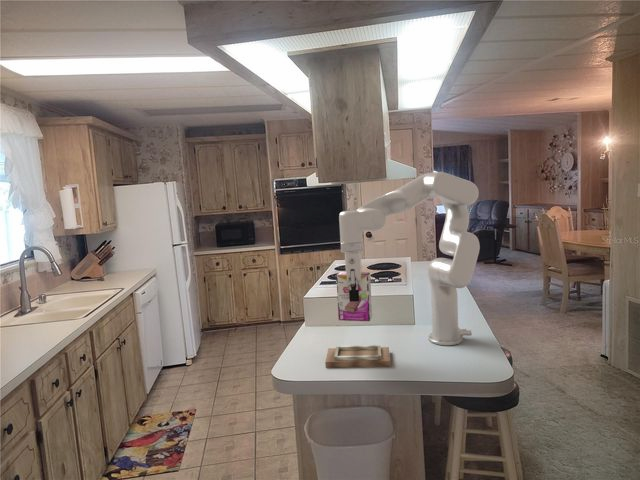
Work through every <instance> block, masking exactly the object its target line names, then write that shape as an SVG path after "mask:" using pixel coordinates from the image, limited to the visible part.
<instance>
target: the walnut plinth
mask: <svg viewBox="0 0 640 480" xmlns="http://www.w3.org/2000/svg"><path fill="white" fill-rule="evenodd" d="M391 361H392V360H391V354H390V347H389V346H381V345H378V344H377V345H376V344H375V345H374V344H373V345H372V344H371V345H368V344H367V345H338V346H335V348H333V347H331V348H327V353H326V358H325V362H324V363H325V364H324V365H325V368H327V369H329V368H372V367H373V368H376V367H377V368H379V367H380V368H381V367H387V368H388V367H389V368H390V367H392V366H391V365H392V363H391Z"/></svg>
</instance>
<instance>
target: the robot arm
mask: <svg viewBox="0 0 640 480" xmlns="http://www.w3.org/2000/svg"><path fill="white" fill-rule="evenodd" d="M479 193H480V192H479V188H478V187H477V185H476V184H475V183H474V182H472V181H471V180H467V179H465V178H461V177H459V176H457V175H453V174H450V173H447V172H445V171H444V172H443V171H436V172H435V171H434V172H427V173H423V174H420V176H417V177H416V178H414V179H412V180H411V181H409V182H408V183H406V184H404V185H402V186H400V187H398V188H397V189H395V190H393V191H390V192H388V193H386V194H383V195H382V196H378V197H375V198H374V199H372V200H369V201H368V202H366V203H365V204H363V205H362V206H360V207H358V208H357V209H356V210H354V209H353V210H352V209H351V210H343V211H341V212H340V213H339V216H338V221H339V224H338V225H339V236H340V237H339V240H340V253H342V254H343V253H344V264H345V272H346V275H347V281H348V282H349V288H350V290H349V298H350V302H356V301H359V289H358V283H357V282H358V281H357V280H360V281H361V280H362V278H361V274H362V272H363V270H362V257H361V252H364V243H363V242H364V241H363V240H364V239H363V232H364V231H366V232H367V231H369V232H371V231H372V232H375V231H376V232H377V231H380V230H382V228H383V227H385V226H386V223H387V216H390V215H391V216H392V215H394V214H400V213H404V212H408V211H410V210H412V209H413V208H416V207H417V206H418V205H420V204H421V203H423V202H425V201H427V200H429V199H430V198H433V197H437V198H438V199H439V202H441V204H442V205H443V207H444V210H445V220H444V224H443V228H442V231H441V235H440V239H439V242H438V243H439V244H438V248H439V250H440V252H442V254H443V255H444V254H445V255H448V256H451V257H453V259H451V258H446V257H437V258H434V259H433V260H431V262H430V263H429V264H428V267H427V275H428V280H429V285H430V294H431V295H430V296H431V323H432V325H431V326H432V327H431V330H432V331H431V333H430V334H429V335H428V341H429V342H431V343H432V344H434V345H438V346H439V345H440V346H455V345H458V344H461V343H462V342H463V340H464V336H466V337H467V336H472V333H473V332H472V329H471V330H469V329H468V330H467V328H460V327H459V316H458V315H459V309H458V307H459V302H458V300H459V299H458V290H457V289H463V288H466V287H467V286H468V285H469V284H470V282H471V281H472V278H473V275H474V272H475V270H476V269H475V268H476V264H477V261H478V257H479V254H480V249H481V246H480V241H479V238H478V237H477V236H476V235H475V234H474V233H472V232H470V231H468V230H469V229H468V227H469V224H470V223H469V222H470V213H469V208H468V207H467V206H471V205H473V204H475V202H476V201H477V200H478V198H479ZM350 279H351V281H350ZM355 279H356V281H355Z"/></svg>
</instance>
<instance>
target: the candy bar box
mask: <svg viewBox="0 0 640 480" xmlns="http://www.w3.org/2000/svg"><path fill="white" fill-rule="evenodd" d="M361 278H362V280H361V281H360V280H357V281H358V282H357V283H358V289H359V301H356V302H350V298H349V290H350V288H349V282H348V281H347V275H346V271H339V272H338V273H336V291H337V292H336V293H337V312H338V321H348V322H349V321H350V322H370V321H371V320H372V318H373V312H372V311H373V309H372V308H373V307H372V287H371V286H372V285H371V283H372V282H371V272H370V271H369V272H367V271H362V274H361ZM350 281H351V279H350ZM355 281H356V279H355Z"/></svg>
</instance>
